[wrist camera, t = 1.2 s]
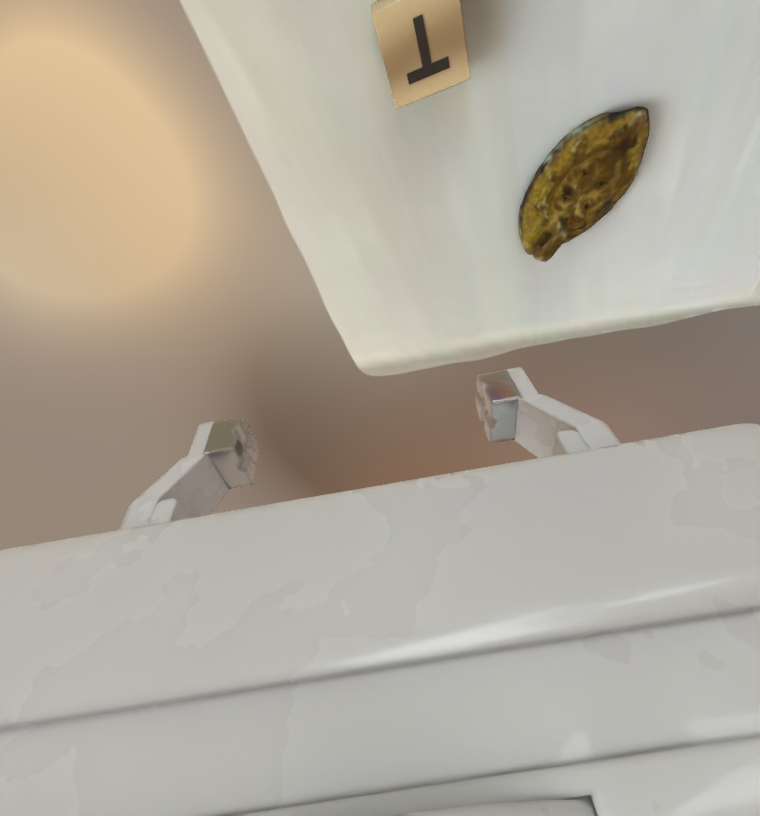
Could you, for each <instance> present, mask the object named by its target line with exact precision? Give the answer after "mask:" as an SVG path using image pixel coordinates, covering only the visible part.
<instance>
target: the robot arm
mask: <svg viewBox="0 0 760 816" xmlns="http://www.w3.org/2000/svg"><path fill="white" fill-rule="evenodd" d="M476 387H477V389H478V393H477V394H476V406H477V412H478V415H479V418H480V420H481V421H482V422H484V430H485V432H486V435H487V437H488V439H489V442H490V443H495V442H502V441H508V440H515V441H516V442H518V443H519V444H520V445H521V446H523V447H524V448H526V449H527V450H528V451H530V452H531V453H533V454H534V455H535V456H537V457H538V458H537V459H531V460H526V461H520V462H514V463H508V464H503V465H497V466H491V467H485V468H479V469H473V470H468V471H463V472H456V473H450V474H444V475H438V476H433V477H427V478H421V479H415V480H409V481H403V482H397V483H392V484H386V485H380V486H374V487H369V488H363V489H357V490H351V491H345V492H339V493H333V494H328V495H322V496H316V497H310V498H304V499H298V500H293V501H287V502H281V503H276V504H269V505H263V506H257V507H252V508H246V509H240V510H234V511H228V512H222V513H217V514H212V512H213V511H214V510H215V508H216V507H217V506H218V504H219V503H220V502H221V501H222V499H223V498H224V496H225V495H226V494H227V493H228V491H229V489H231V488H236V487H241V486H246V485H251V484H253V481H254V476H255V470H256V469H255V467H254V465H253V464H254V463H255V462H256V461H257V459H258V445H257V441H256V438H255V436H254V434H252V433H250V432H249V431H248V428H249V424H248V422H247V421H246V419H245V418H243V417H239V418H233V419H227V420H220V421H215V422H208V423H202V424H200V425H199V426H198V429H197V432H196V434H195V437H194V440H193V443H192V446H191V448H190V451H189V454H188V456H187V457H184V458H182V459H181V460H180V461H179V462H178V463H177V464H175V465H174V466H173V467H172V468H171V469H170V470H169V471H168V472H166V473H165V474H164V475H163V476H162V477H161V478H160V479H159V480H158V481H156V482H155V483H154V484H153V485H152V486H151V487H150V488H148V489H147V490H146V491H145V492H144V493H143V494H142V495H141V496H139V497H138V498H137V499H136V500H135V501H134V502H133V503H131V504H130V507H129V508H128V511H127V513H126V515H125V517H124V519H123V522H122V524H121V526H120V528H119V530H117V531H112V532H105V533H100V534H94V535H88V536H82V537H76V538H70V539H64V540H59V541H53V542H47V543H41V544H36V545H29V546H22V547H16V548H10V549H4V550H0V816H760V425H757V424H747V423H746V424H736V425H729V426H723V427H718V428H712V429H706V430H700V431H694V432H689V433H683V434H677V435H671V436H666V437H660V438H654V439H648V440H642V441H637V442H631V443H625V444H621V443H620V442H619V441H618V440H617V438H616V437H615V435H614V434H613V433H612V431H611V430H610V429H609V428H608V426H607V425H606V424H605V423H604V422H602V421H600V420H598V419H596V418H593V417H591V416H589V415H587V414H585V413H582V412H580V411H578V410H576V409H574V408H571V407H569V406H567V405H565V404H563V403H561V402H559V401H556V400H554V399H552V398H549V397H548V396H545V395H539V394H538V393H537V391H536V390H535V388H534V387H533V385H532V383H531V382H530V380H529V379H528V377H527V375H526V374H525V372H524V371H523V369H522V368H520V367H518V368H513V369H508V370H505V371H500V372H494V373H489V374H483V375H478V376H476Z"/></svg>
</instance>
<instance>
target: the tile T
mask: <svg viewBox="0 0 760 816" xmlns="http://www.w3.org/2000/svg"><path fill="white" fill-rule="evenodd" d="M371 13H372V18H373V22H374V25H375V29H376V33H377V37H378V41H379V45H380V48H381V52H382V56H383V60H384V64H385V68H386V71H387V75H388V79H389V83H390V87H391V91H392V94H393V98H394V102H395V106H396V109H398V108H400V107H403V106H405V105H408V104H410V103H413V102H415V101H417V100H420V99H422V98H425V97H427V96H430V95H432V94H435V93H437V92H440V91H442V90H444V89H447V88H449V87H452V86H454V85H457V84H459V83H462V82H464V81H466V80H469V79H470V70H469V63H468V55H467V47H466V40H465V32H464V25H463V17H462V10H461V2H460V0H379V1H377V2H375V3H373V4H371Z"/></svg>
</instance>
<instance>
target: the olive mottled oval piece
mask: <svg viewBox="0 0 760 816" xmlns="http://www.w3.org/2000/svg"><path fill="white" fill-rule="evenodd" d="M648 136H649V113H648V109H646V108H645V107H635V108H632V109H628V110H625V111H622V112H615V113H604V114H602V115H599V116H597V117H594V118H592V119H591V120H589V121H587V122H585V123H583V124H582V125H580V126H579V127H577V128H576V129H574V130H573V131H572V132H570V133H569V134H568V135H566V136H565V137H564V138H563V139H562V140H561V141H560V142H559V143H558V144H557V146H556V147H555V148H554V149H553V150H552V151H551V153H550V154H549V155H548V156H547V158H546V160H545V161H544V163H543V164H542V165H541V166H540V168H539V169H538V171H537V172H536V175H535V177H534V179H533V181H532V182H531V184H530V186H529V188H528V190H527V192H526V194H525V197H524V199H523V202H522V204H521V206H520V211H519V222H518V223H519V235H520V239H521V242H522V245H523V248H524V250H525V252H526V253H527V254H530V255H533V256H534V258H535V259H537V260H539V261H544V262H546V261H547V260H549V259H550V258H551V257H552V256H553V255H554V253H555V252H556V251H557V249H558V248H559V247H560V246H561V244H563V243H566V242H568V241H570V240H571V239H573V238H575V237H576V236H578V235H580V234H581V233H583V232H585V231H586V230H588V229H589V228H591V227H592V226H593V225H594V224H595V223H596V222H597V221H599V220H600V219H601V218H602V217H603V216H604V215H605V214H607V213H608V212H609V211H610V210H611V209H612V208H613V206H614V205H615V204H616V202H617V201H618V200H619V199H620V198H621V197H622V196H623V195H624V194H625V193H626V191H627V190H628V188H629V187H630V185H631V183H632V182H633V180H634V177H635V176H636V174H637V171H638V168H639V166H640V164H641V162H642V158H643V154H644V150H645V147H646V144H647V140H648Z"/></svg>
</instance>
